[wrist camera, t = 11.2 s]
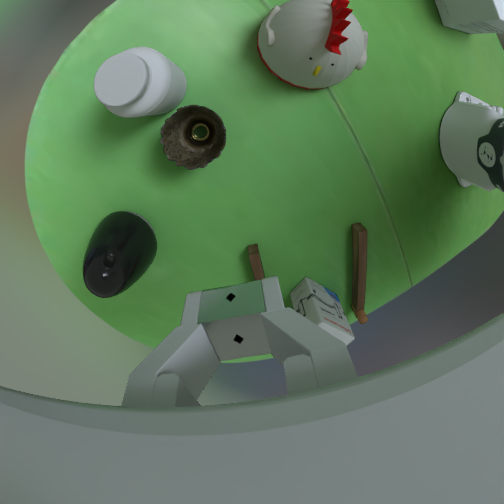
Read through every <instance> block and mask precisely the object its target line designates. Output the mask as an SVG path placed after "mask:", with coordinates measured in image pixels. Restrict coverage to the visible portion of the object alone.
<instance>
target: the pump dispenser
mask: <svg viewBox="0 0 504 504" xmlns="http://www.w3.org/2000/svg"><path fill="white" fill-rule="evenodd" d="M156 252H157V241H156V237H155V233H154V230H153V228H152V226H151V225H150V223H149V222H148V221H147V220H146V219H145V218H144V217H142V216H141V215H139V214H137V213H134V212H130V211H119V212H114V213H111V214H109V215H108V216H106V217H105V218H104V219H103V220H102V221H101V222H100V223H99V225H98V226H97V228H96V229H95V231H94V233H93V235H92V237H91V239H90V241H89V244H88V247H87V250H86V253H85V256H84V261H83V278H84V282H85V285H86V287H87V288H88V290H89V291H90V292H91V293H92V294H94V295H96V296H98V297H101V298H109V297H113V296H116V295H118V294H120V293H122V292H124V291H125V290H127V289H128V288H129V287H131V286H132V285H133V284H134V283H135V282H136V281H137V280H138V279H139V278H140V277H141V276H142V275H143V274H144V273H145V272H146V271H147V269H148V268H149V267H150V265H151V264H152V262H153V260H154V258H155V256H156Z"/></svg>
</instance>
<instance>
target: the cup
mask: <svg viewBox="0 0 504 504" xmlns="http://www.w3.org/2000/svg"><path fill="white" fill-rule="evenodd" d="M199 126H203V127H205V128H206V130H207V134H206V135H205V136H204V137H198V136H196V134H195V130H196V128H197V127H199ZM161 135H162V139H161V140H160V142H161V144H163V145H164V147H163V148H164V153H165V154H166V155H167V157H168V159H169V160H170V161H176V165H177V166H184V167H185V168H187V169H189V170H192V169H196V168H199V167H200V168H204V167H206V166H207V164H208V163H210V162H211V161H213V160H214V159H215V158H218V157H219V156H220V154H221V151H222V150H223V149H224V147H225V143H226V129H225V127H224V125H223V121H222V119H221V118H220V117H219V116H218V115H217V114H216V113H215V112H214V111H212V110H210V109H209V108H207V107H204V106H198V105H188V106H185V107H181V108H179V109H177V112H176V113H174V114H173V115H172V116H171V117H170V118H168V119H166V121H165V124H164V125H163V126H162V128H161Z"/></svg>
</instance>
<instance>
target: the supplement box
mask: <svg viewBox="0 0 504 504" xmlns="http://www.w3.org/2000/svg"><path fill="white" fill-rule="evenodd" d="M435 3H436V5H437V8H438V11H439V14H440V17H441V20H442V23H443V26H445V27H449V28H452V29H456V30H459V31H463V32H466V33H469V34H480V33H504V0H435Z"/></svg>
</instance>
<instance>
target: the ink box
mask: <svg viewBox="0 0 504 504" xmlns="http://www.w3.org/2000/svg"><path fill="white" fill-rule="evenodd" d="M290 297H291V301H292V305H293V309H294V311H296V312H297V313H299V314H301V315H302V316H304V317H305V318H307V319H308V320H310V321H311V322H313V323H314V324H316V325H317V326H319V327H321V328H322V329H324V330H325V331H327V332H328V333H330V334H331V335H333V336H335V337H336V338H338V339H339V340H341V341H342V342H344V343H345V345H346V346H347V345H348V344H350V343H351V342H352V341H353V340H354V339H355V337H354V335H353V333H352V330H351V328H350V325H349V323H348V320H347V318H346V316H345V313H344V311H343V309H342V306H341V304H340V301H339V299H338V297H337V294H335V293H333V292H332V291H330V290H328V289H327V288H325V287H323V286H321V285H320V284H318V283H316V282H314V281H313V280H311V279H309V278H307V277H305V278H304V279H303V280H302V281H301V282H300V283H299V284H298V285H297V286H296V287H295V288H294V290H293V291H292V292H291V293H290Z"/></svg>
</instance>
